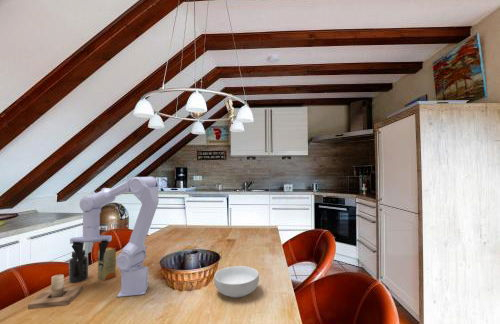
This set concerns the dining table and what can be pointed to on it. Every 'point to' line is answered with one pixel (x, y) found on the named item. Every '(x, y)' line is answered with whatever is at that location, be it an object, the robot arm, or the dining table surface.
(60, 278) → the peg
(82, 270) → the supplement bottle
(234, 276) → the cereal bowl
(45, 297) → the socket block
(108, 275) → the shoe polish box
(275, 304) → the dining table surface
